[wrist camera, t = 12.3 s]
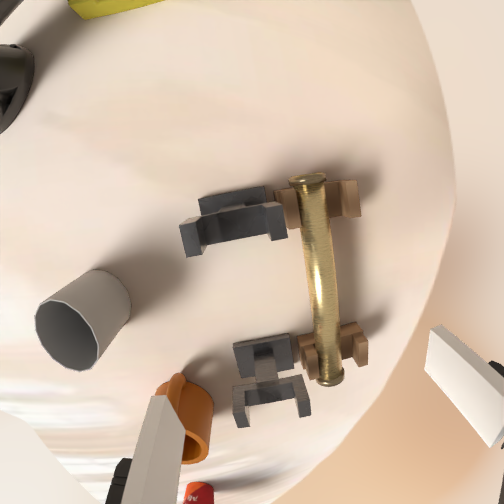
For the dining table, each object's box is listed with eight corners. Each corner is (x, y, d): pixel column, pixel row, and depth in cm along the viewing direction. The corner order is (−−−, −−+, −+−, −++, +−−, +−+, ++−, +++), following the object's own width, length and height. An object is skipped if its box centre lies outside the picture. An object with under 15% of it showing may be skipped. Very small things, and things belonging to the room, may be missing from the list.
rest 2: (296, 336, 35) (304, 357, 30) (355, 321, 35) (370, 340, 30) (299, 358, 36) (307, 380, 31) (356, 344, 36) (369, 363, 31)
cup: (129, 273, 32) (92, 306, 22) (134, 333, 34) (106, 378, 24) (72, 267, 32) (27, 294, 22) (80, 324, 33) (44, 361, 24)
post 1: (197, 199, 30) (174, 207, 20) (264, 185, 30) (279, 186, 20) (207, 243, 32) (190, 274, 21) (273, 230, 32) (290, 255, 21)
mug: (224, 371, 36) (222, 419, 27) (207, 426, 38) (203, 470, 29) (159, 355, 35) (141, 398, 26) (152, 412, 37) (138, 454, 29)
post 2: (231, 343, 35) (229, 404, 24) (289, 332, 35) (308, 390, 24) (239, 374, 36) (240, 435, 25) (294, 363, 36) (312, 422, 25)
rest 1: (273, 190, 31) (279, 191, 26) (342, 179, 31) (359, 179, 26) (279, 223, 31) (286, 230, 27) (346, 211, 31) (364, 215, 27)
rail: (297, 175, 29) (281, 178, 26) (329, 170, 27) (317, 172, 24) (322, 367, 34) (311, 384, 32) (348, 370, 32) (338, 389, 30)
